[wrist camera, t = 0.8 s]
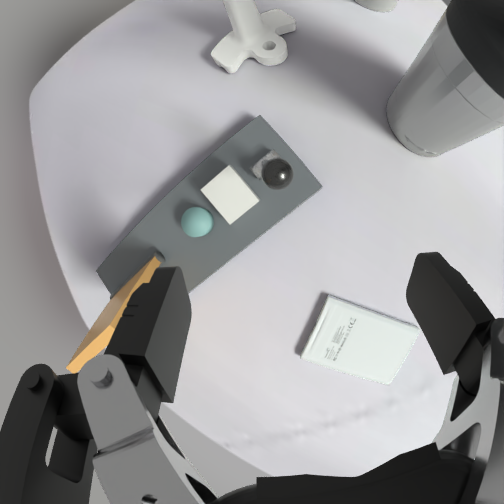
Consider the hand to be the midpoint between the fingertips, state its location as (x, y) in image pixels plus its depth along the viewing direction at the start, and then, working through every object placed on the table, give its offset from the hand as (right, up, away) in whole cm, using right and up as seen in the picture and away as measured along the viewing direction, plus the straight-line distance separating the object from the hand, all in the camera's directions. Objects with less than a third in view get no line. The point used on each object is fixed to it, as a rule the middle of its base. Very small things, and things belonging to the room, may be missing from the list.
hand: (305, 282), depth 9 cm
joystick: (-1, +26, +18) cm, 32 cm away
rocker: (-4, +7, +18) cm, 20 cm away
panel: (-8, +3, +22) cm, 24 cm away
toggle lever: (0, +10, +17) cm, 20 cm away
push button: (-7, +4, +20) cm, 21 cm away
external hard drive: (+11, -9, +21) cm, 26 cm away
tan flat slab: (-15, -2, +21) cm, 26 cm away
